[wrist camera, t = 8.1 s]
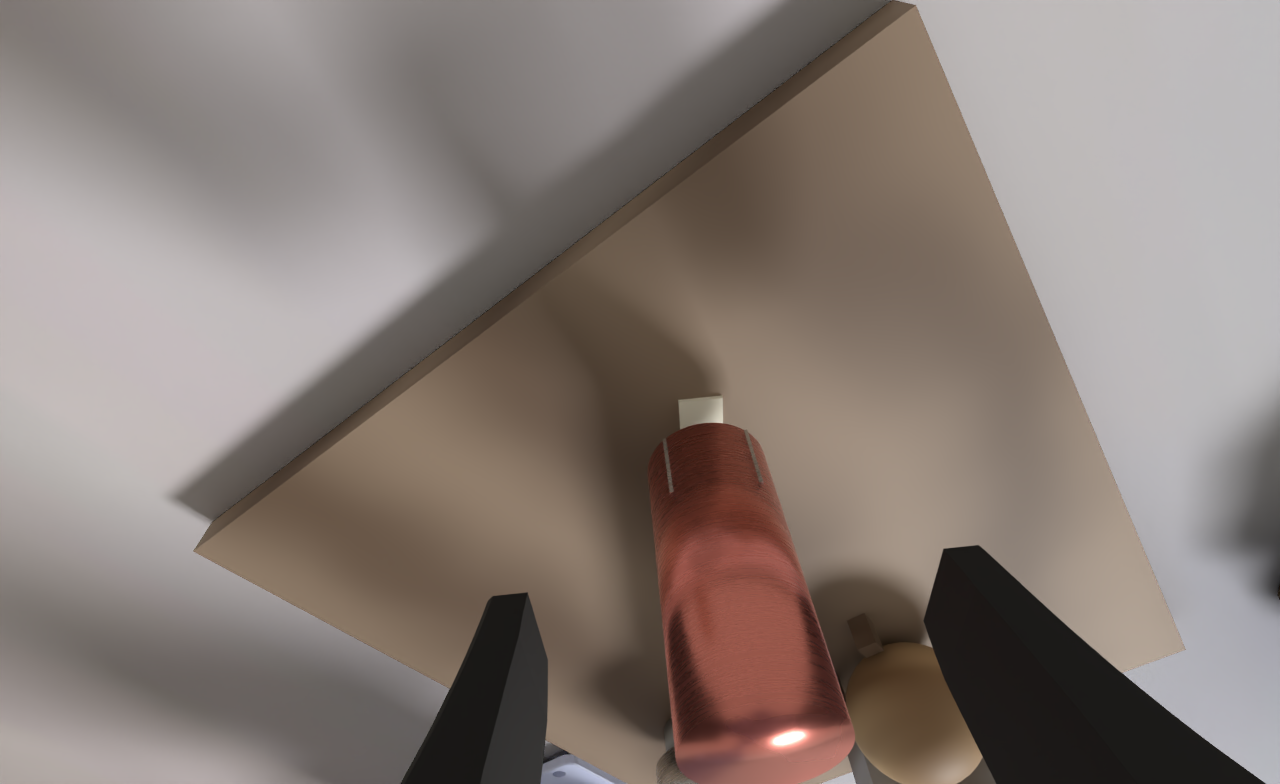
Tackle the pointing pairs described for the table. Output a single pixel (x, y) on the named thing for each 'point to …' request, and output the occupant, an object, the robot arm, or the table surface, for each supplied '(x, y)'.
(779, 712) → the lever
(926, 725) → the tan round ball
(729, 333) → the base
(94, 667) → the table surface
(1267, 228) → the table surface
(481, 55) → the table surface
